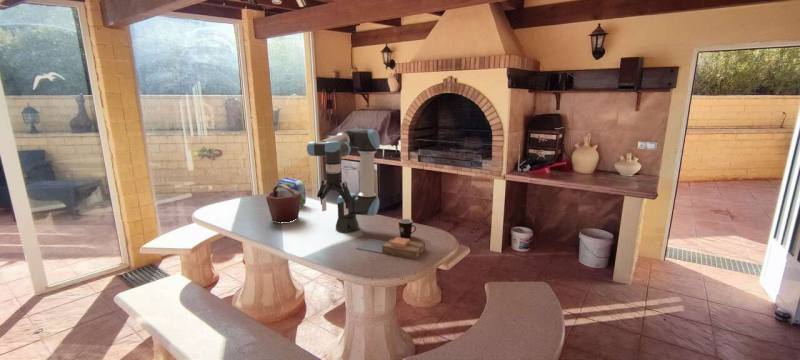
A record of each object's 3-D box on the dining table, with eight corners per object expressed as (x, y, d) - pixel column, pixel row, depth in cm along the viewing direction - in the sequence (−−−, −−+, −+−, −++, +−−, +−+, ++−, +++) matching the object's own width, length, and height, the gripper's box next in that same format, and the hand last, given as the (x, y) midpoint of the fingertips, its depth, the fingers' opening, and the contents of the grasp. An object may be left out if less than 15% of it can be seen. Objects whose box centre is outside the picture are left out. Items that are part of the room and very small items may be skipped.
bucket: (306, 221, 263) (304, 186, 258) (273, 227, 251) (271, 190, 245) (294, 212, 283) (292, 179, 277) (263, 218, 271) (260, 183, 265)
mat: (369, 239, 232) (369, 238, 232) (393, 243, 226) (393, 242, 225) (356, 248, 218) (356, 248, 218) (381, 253, 211) (381, 252, 211)
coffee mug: (396, 235, 239) (396, 219, 236) (408, 233, 242) (409, 218, 240) (403, 241, 228) (403, 225, 226) (416, 239, 231) (417, 223, 229)
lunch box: (276, 203, 308) (274, 177, 303) (287, 200, 316) (285, 175, 311) (295, 209, 292) (294, 182, 287) (307, 206, 300) (306, 179, 295)
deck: (392, 243, 225) (392, 237, 224) (424, 249, 217) (425, 243, 216) (382, 252, 212) (382, 246, 211) (415, 259, 204) (415, 252, 203)
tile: (397, 240, 219) (397, 237, 219) (409, 242, 216) (409, 239, 216) (391, 245, 212) (391, 241, 212) (404, 247, 209) (404, 244, 209)
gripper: (308, 171, 194) (310, 211, 199) (350, 175, 183) (351, 217, 188) (318, 168, 200) (319, 207, 205) (358, 172, 190) (359, 213, 195)
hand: (335, 212), depth 197 cm, fingers open, 13 cm apart
